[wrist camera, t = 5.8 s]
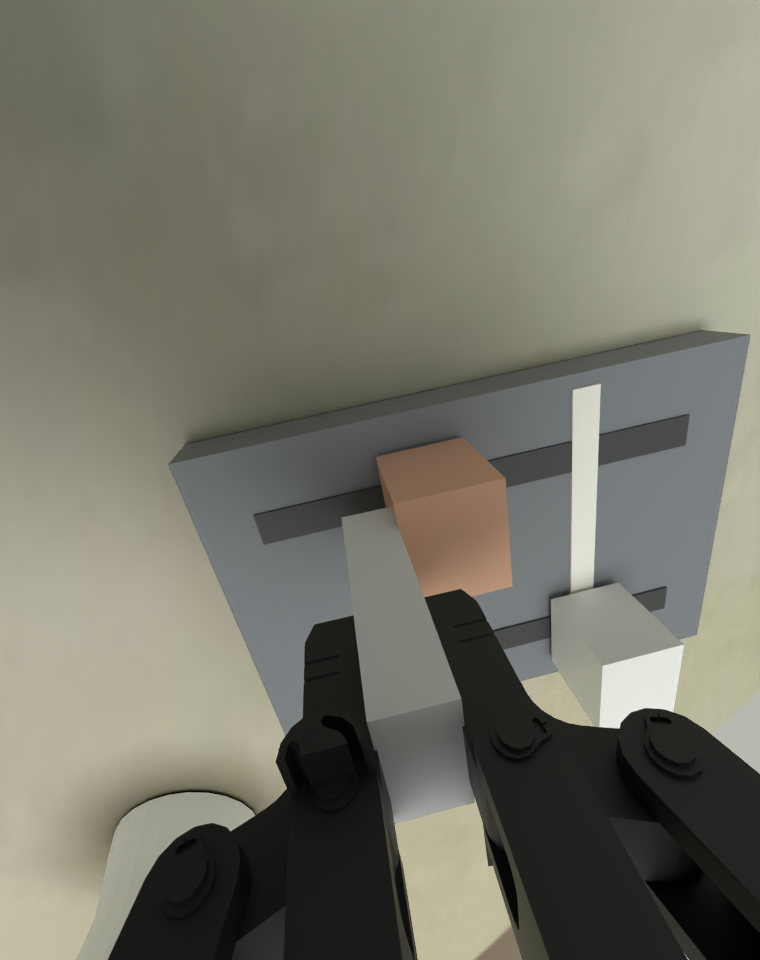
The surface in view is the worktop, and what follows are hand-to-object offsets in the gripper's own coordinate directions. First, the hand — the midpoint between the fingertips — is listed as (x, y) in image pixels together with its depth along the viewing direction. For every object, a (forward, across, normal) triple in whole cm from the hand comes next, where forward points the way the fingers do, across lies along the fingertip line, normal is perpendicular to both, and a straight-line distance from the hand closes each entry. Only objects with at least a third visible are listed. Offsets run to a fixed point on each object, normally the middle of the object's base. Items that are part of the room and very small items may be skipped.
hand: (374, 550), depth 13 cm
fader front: (+2, +2, 0) cm, 3 cm away
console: (+5, +4, -4) cm, 7 cm away
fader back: (+2, +8, -8) cm, 12 cm away
